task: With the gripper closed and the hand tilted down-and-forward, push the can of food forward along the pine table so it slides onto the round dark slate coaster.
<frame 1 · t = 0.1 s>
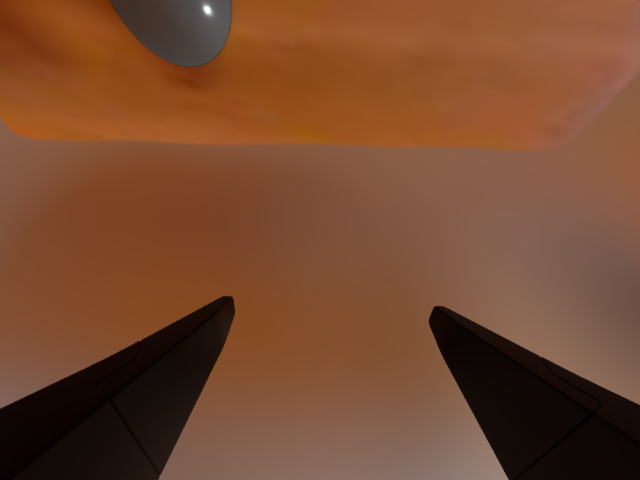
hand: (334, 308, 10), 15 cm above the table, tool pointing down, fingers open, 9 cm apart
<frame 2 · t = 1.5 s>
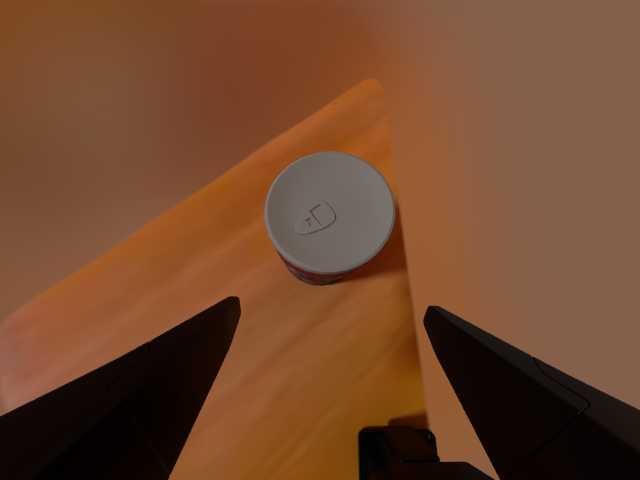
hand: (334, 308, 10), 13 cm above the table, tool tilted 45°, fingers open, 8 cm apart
canned food: (320, 249, 24), on the table, touching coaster
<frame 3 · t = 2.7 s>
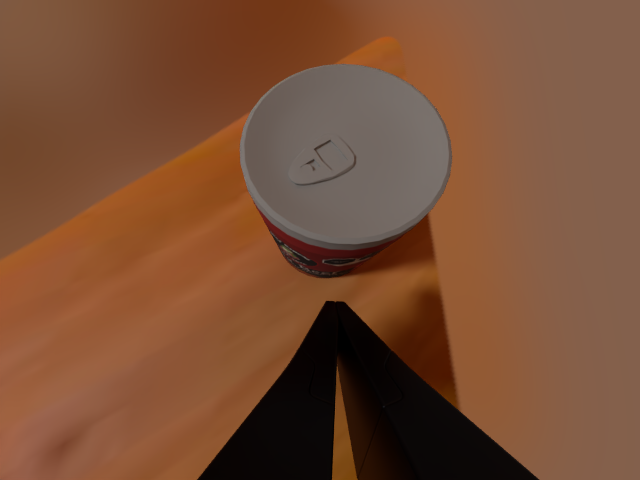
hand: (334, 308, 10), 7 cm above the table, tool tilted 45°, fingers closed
canned food: (325, 233, 19), on the table, touching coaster
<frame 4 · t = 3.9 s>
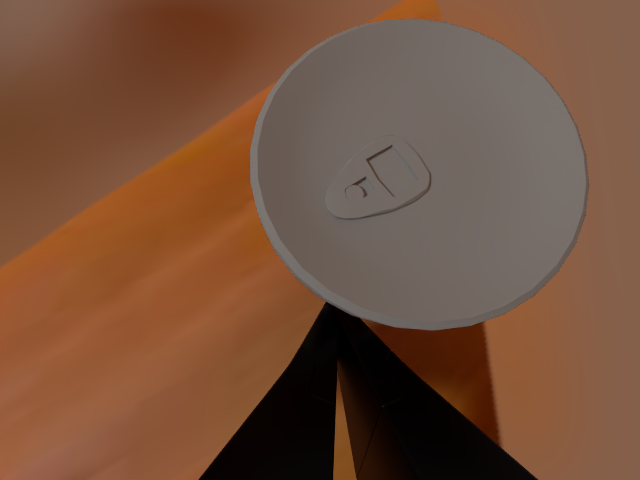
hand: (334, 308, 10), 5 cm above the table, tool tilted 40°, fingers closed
canned food: (346, 240, 16), on the table, touching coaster, gripper
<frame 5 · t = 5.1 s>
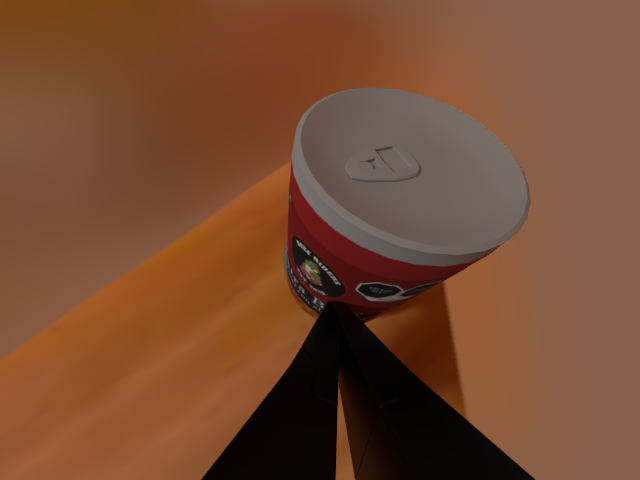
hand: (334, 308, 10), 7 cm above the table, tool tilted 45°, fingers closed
canned food: (339, 275, 17), point 1 cm above the table, touching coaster, gripper
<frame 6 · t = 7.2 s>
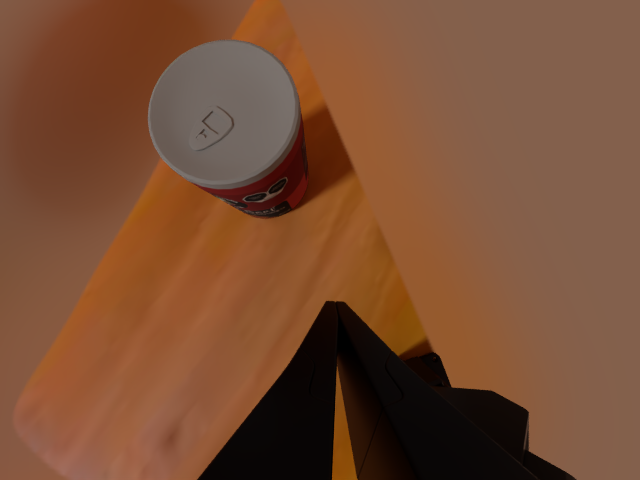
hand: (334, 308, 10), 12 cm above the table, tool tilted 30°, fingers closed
canned food: (270, 181, 23), on the table, touching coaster
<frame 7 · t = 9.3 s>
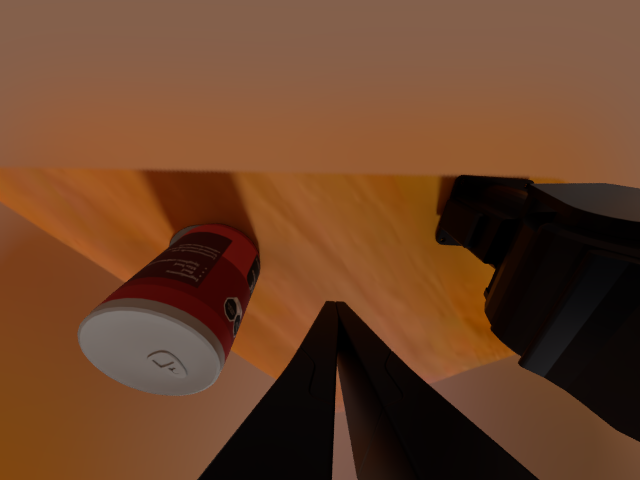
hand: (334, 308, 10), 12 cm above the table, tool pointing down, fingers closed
canned food: (224, 255, 23), on the table, touching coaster
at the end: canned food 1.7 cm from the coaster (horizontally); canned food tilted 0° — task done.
